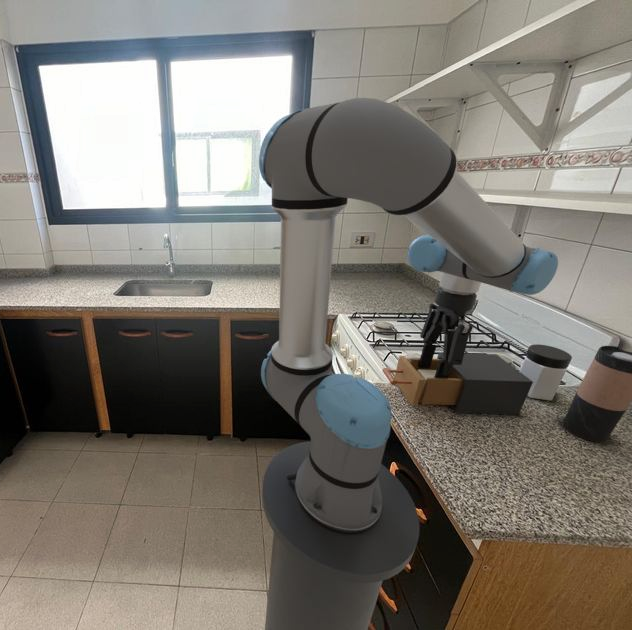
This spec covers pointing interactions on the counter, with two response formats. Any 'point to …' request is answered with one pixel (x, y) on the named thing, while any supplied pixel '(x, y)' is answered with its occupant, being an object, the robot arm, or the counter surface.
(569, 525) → the counter surface
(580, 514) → the counter surface
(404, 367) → the drawer
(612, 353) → the travel mug
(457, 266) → the robot arm
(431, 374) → the block
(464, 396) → the cabinet
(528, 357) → the jar
